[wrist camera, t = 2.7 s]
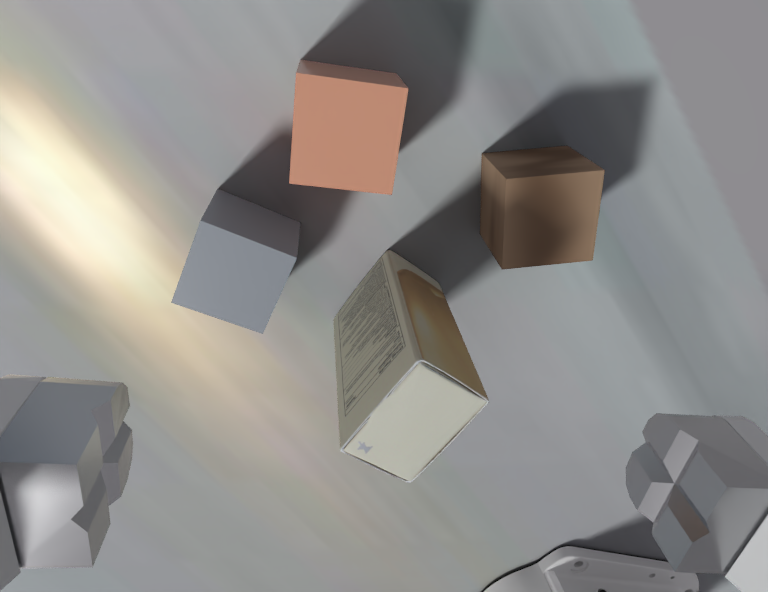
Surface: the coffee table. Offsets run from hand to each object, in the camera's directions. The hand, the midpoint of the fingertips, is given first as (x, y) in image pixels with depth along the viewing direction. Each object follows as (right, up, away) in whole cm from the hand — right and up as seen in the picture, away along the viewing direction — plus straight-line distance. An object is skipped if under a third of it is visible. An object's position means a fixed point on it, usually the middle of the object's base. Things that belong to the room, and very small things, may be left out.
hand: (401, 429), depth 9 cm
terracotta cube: (-2, +12, +21) cm, 25 cm away
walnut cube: (+8, +8, +25) cm, 27 cm away
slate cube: (-9, +5, +24) cm, 26 cm away
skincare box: (0, +2, +27) cm, 27 cm away
